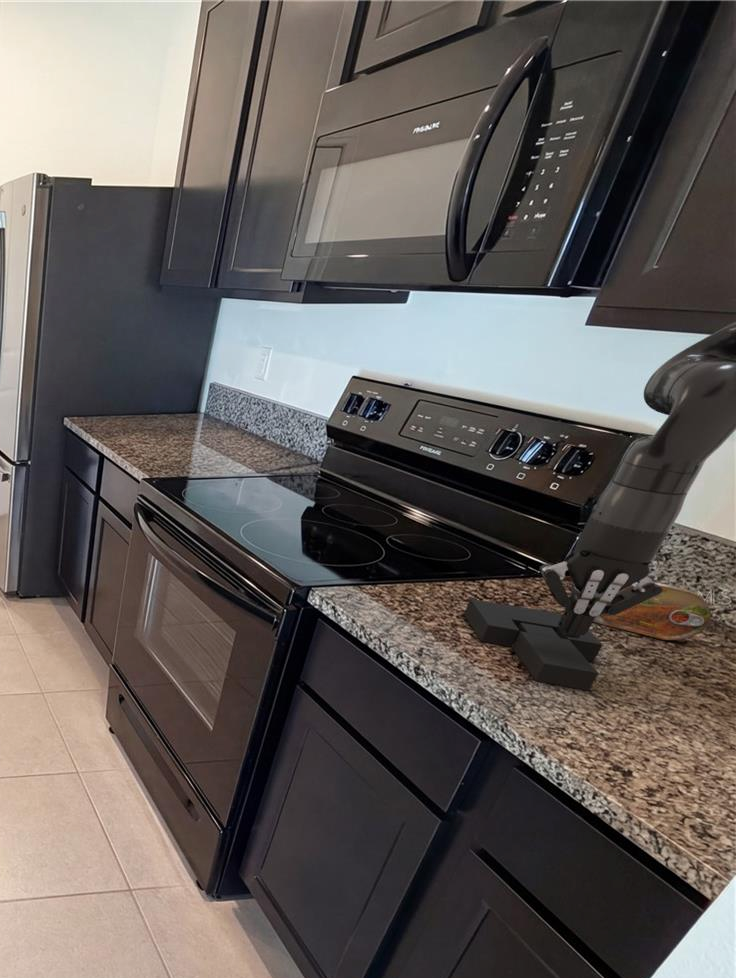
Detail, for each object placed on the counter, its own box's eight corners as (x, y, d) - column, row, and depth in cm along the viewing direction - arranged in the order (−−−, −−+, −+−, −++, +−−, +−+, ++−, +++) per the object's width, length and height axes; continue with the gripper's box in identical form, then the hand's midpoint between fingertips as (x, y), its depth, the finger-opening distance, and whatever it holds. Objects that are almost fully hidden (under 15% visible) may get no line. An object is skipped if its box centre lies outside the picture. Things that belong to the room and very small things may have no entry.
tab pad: (551, 645, 102) (559, 629, 100) (588, 691, 90) (598, 673, 89) (504, 637, 104) (512, 621, 102) (535, 680, 93) (544, 663, 91)
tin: (566, 615, 111) (590, 570, 107) (568, 609, 113) (591, 565, 109) (693, 648, 102) (723, 600, 98) (692, 641, 104) (722, 594, 100)
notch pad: (566, 631, 106) (575, 615, 104) (593, 661, 98) (603, 644, 96) (463, 614, 111) (470, 598, 109) (480, 641, 102) (488, 624, 101)
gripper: (578, 520, 84) (520, 636, 92) (715, 537, 79) (642, 658, 87) (555, 503, 90) (503, 614, 98) (681, 518, 85) (615, 633, 93)
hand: (569, 634), depth 92 cm, fingers closed
